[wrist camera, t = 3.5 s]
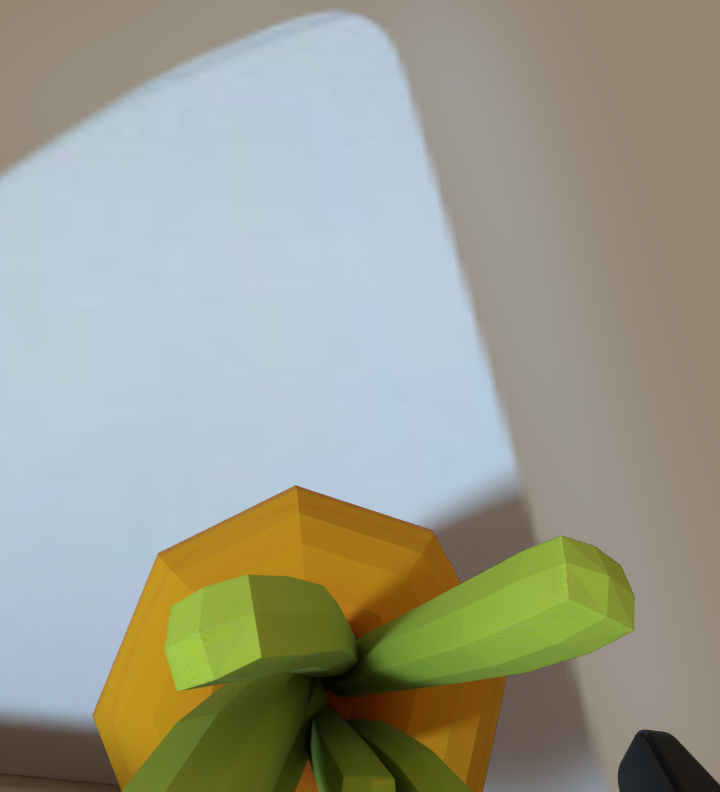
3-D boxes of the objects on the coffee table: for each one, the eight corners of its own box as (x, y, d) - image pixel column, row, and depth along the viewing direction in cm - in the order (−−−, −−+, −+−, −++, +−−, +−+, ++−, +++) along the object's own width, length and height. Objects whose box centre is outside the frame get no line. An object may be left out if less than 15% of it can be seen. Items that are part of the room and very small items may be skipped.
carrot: (375, 544, 18) (681, 322, 4) (394, 737, 17) (963, 1367, 3) (197, 559, 18) (-133, 356, 4) (200, 762, 16) (-338, 1757, 2)
